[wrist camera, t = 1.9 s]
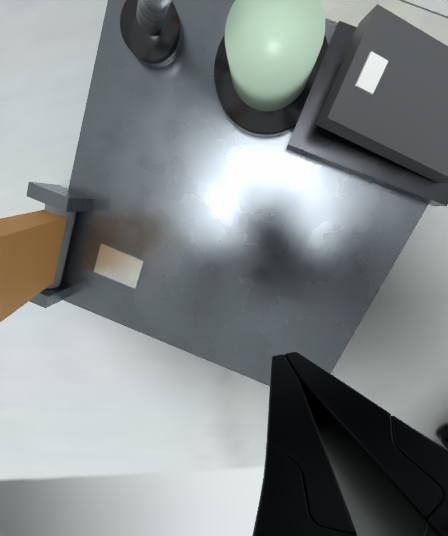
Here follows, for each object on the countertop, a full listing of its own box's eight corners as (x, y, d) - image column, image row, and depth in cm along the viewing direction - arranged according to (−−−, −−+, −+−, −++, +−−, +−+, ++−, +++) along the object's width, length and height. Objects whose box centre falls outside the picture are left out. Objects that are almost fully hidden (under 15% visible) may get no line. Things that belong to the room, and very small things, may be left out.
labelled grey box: (487, 97, 12) (520, 87, 11) (438, 182, 13) (462, 182, 12) (358, 23, 11) (378, 2, 9) (315, 124, 12) (328, 117, 10)
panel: (498, 62, 14) (584, 11, 10) (312, 390, 19) (324, 432, 16) (130, -74, 14) (88, -168, 11) (53, 283, 20) (8, 300, 16)
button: (325, 36, 12) (343, -8, 9) (290, 122, 13) (298, 103, 10) (248, 7, 12) (246, -43, 10) (219, 95, 13) (210, 69, 11)
